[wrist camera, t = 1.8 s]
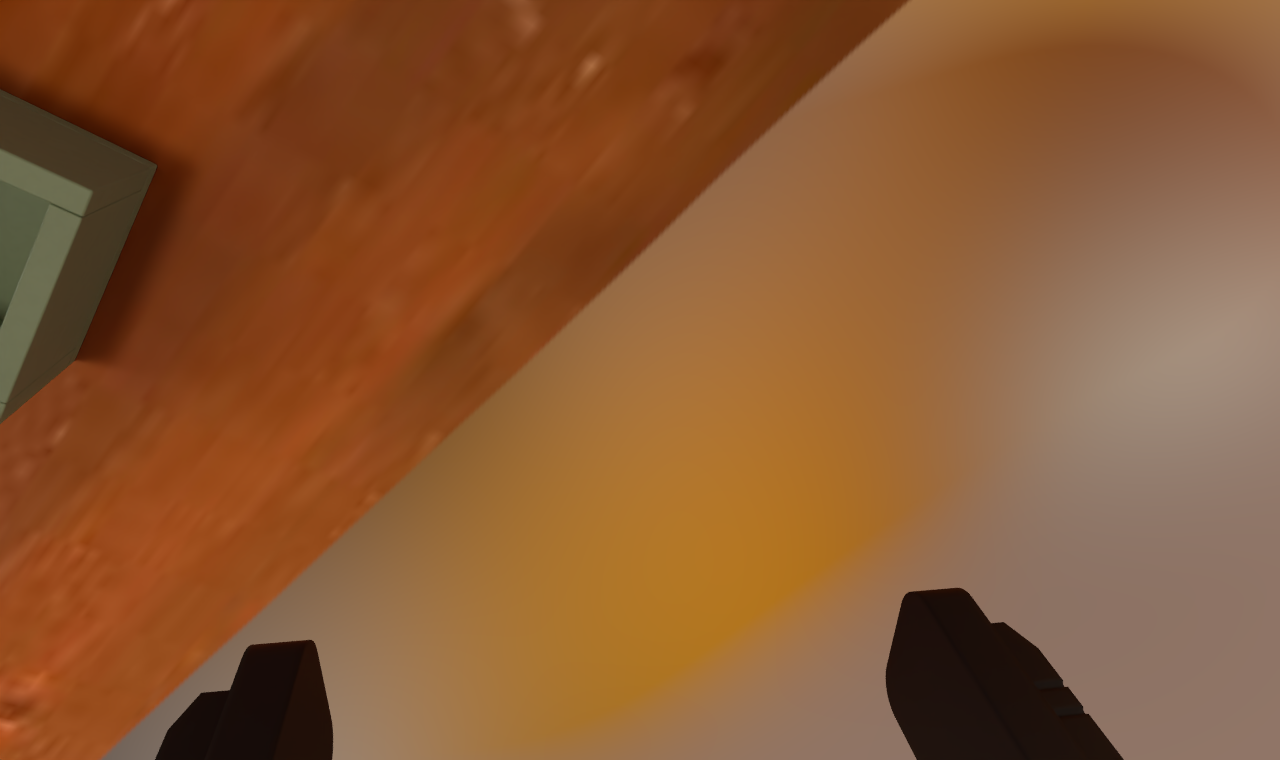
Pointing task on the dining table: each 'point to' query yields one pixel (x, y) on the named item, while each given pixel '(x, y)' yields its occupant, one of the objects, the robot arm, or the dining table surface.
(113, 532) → the dining table surface
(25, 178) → the rack
